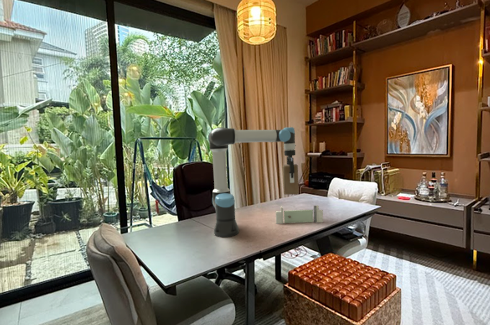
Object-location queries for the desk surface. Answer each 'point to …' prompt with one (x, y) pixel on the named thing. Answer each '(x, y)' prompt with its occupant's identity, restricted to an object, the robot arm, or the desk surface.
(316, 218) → the l-shaped block
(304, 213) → the door
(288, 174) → the wooden block
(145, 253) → the desk surface
